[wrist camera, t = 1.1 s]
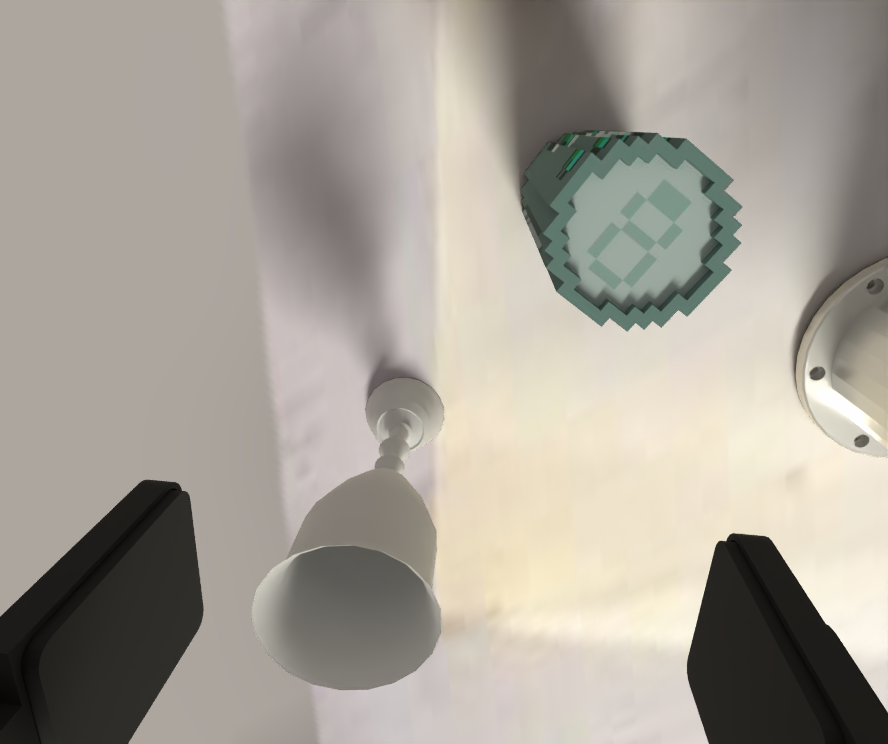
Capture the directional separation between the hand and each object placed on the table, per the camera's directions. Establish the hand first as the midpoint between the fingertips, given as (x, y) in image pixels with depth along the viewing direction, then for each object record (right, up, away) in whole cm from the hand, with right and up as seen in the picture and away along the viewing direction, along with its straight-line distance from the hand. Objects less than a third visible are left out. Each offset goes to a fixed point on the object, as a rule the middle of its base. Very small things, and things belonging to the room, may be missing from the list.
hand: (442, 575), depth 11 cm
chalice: (-2, +1, +29) cm, 29 cm away
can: (+7, +14, +23) cm, 28 cm away
